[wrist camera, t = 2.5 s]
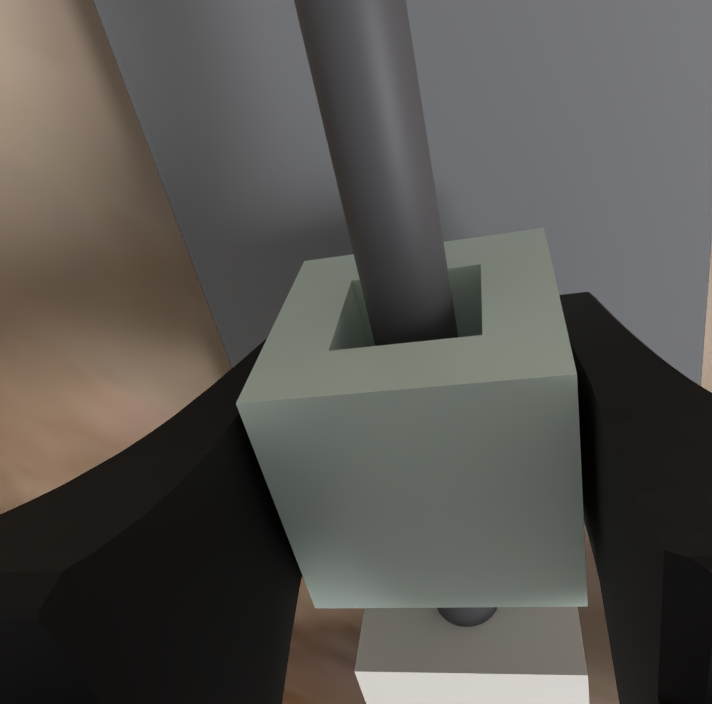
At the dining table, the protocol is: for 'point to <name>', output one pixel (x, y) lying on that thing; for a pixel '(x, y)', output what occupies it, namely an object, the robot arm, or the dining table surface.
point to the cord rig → (436, 207)
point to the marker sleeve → (427, 439)
